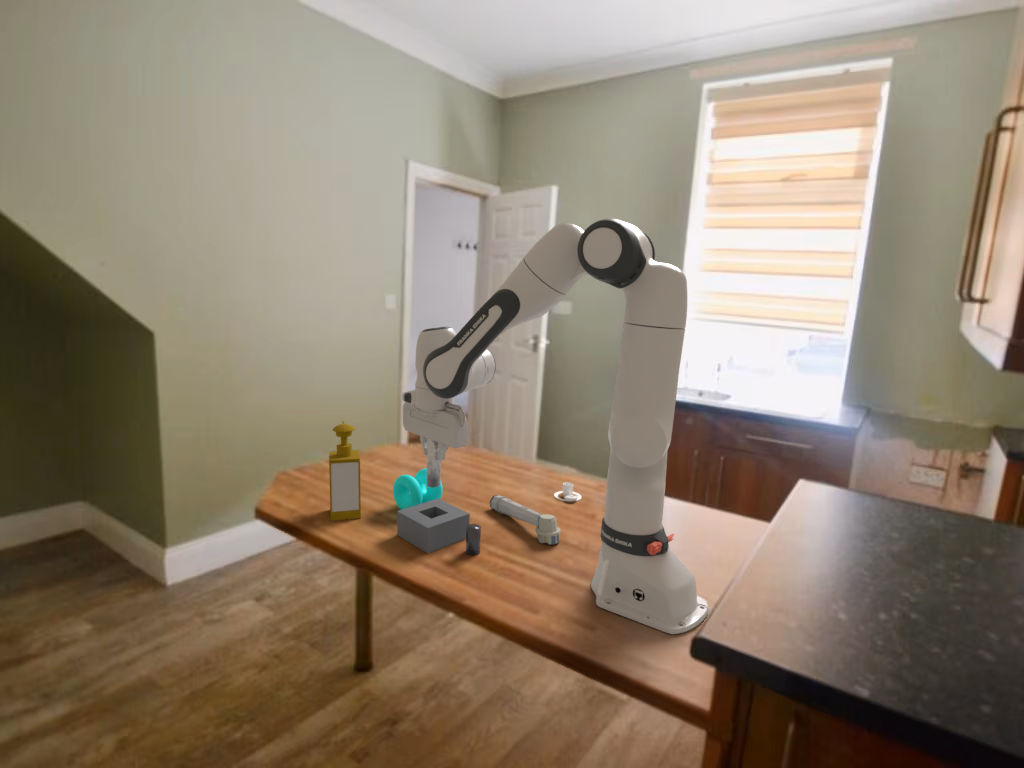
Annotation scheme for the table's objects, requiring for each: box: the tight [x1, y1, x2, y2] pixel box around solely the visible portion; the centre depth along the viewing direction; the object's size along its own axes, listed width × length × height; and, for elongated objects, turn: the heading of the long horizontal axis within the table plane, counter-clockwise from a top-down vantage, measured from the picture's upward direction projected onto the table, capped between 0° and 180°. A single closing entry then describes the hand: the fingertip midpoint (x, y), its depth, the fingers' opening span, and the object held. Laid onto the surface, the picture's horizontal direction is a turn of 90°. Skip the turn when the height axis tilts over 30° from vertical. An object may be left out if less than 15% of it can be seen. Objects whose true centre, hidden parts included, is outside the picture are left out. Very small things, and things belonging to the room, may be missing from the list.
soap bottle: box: [328, 420, 362, 522], centre depth 142 cm, size 7×13×24 cm, turn 18°
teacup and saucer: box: [553, 481, 583, 502], centre depth 159 cm, size 9×8×4 cm
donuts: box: [392, 467, 444, 510], centre depth 146 cm, size 10×10×10 cm
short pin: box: [465, 523, 482, 557], centre depth 124 cm, size 3×3×6 cm
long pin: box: [426, 438, 442, 487], centre depth 128 cm, size 3×3×13 cm
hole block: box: [396, 499, 471, 554], centre depth 130 cm, size 12×12×6 cm
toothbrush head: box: [489, 494, 562, 545], centre depth 138 cm, size 5×7×25 cm
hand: (433, 457), depth 128 cm, fingers closed on long pin, 3 cm apart
